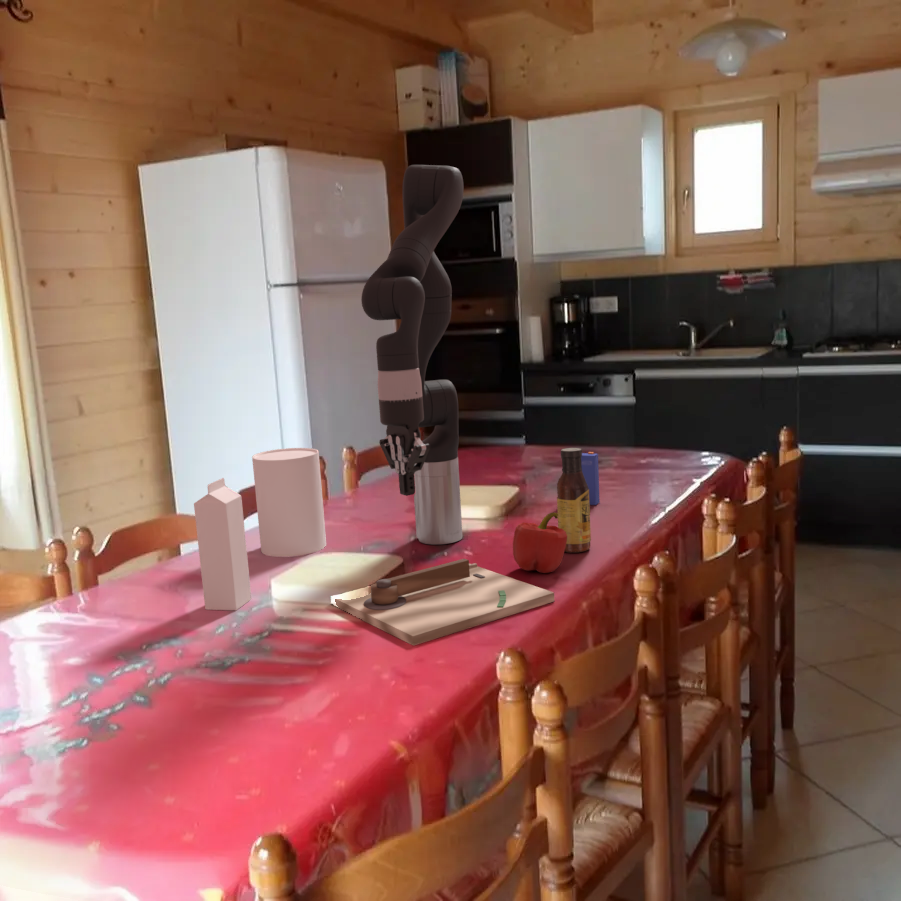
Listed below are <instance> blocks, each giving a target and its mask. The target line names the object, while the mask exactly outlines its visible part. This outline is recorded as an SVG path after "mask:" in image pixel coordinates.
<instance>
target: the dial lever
mask: <svg viewBox="0 0 901 901" xmlns="http://www.w3.org/2000/svg"><path fill="white" fill-rule="evenodd" d="M469 564H470V565H469ZM477 566H478V563H476V562H475V563H474V562H473V563H470V559H466V558H460V559H458V560H454V561H450V562H446V563H442V564H439V565H435V566H431V567H427V568H423V569H420V570H416V571H412V572H409V573H404V574H400V575H397V576H392V577H389V578H383V579H382V578H381V579H378V580H376V582H375V583H373V584H370V585H371V600H372V602H373V603H375V604H390V603H394V602H396V601H397V600H398V597H399V596H402V595H406V594H410V593H413V592H417V591H420V590H424V589H428V588H431V587H435V586H438V585H442V584H446V583H449V582H453V581H456V580H460V579H464V578H467V577H470V571H469V569H472V568H476V567H477Z"/></svg>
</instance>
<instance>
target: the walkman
mask: <svg viewBox="0 0 901 901" xmlns="http://www.w3.org/2000/svg"><path fill="white" fill-rule="evenodd" d="M581 466H582V472H583V475H584V478H585V480H586V483H587V485H588V488H589V503H590V506H597V505H598V504H599V503H600V502H601V501H600V500H601V499H600V474H599V473H600V472H599V471H600V470H599V453H595V452H594V451H588V452H586V453H585V452H582V457H581Z"/></svg>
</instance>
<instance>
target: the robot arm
mask: <svg viewBox="0 0 901 901" xmlns="http://www.w3.org/2000/svg"><path fill="white" fill-rule="evenodd" d="M463 199H464V179H463V175H462V172H461V171H460V169H459V168H457V167H454V166H450V165H437V164H436V165H435V164H433V165H432V164H430V165H429V164H411V165H408V166H407V168H406V169H405V171H404V175H403V180H402V208H403V209H402V212H403V225H404V226H403V227H404V229H403V230H402V231H401V232H400V233H399V234H398V235H397V236H396V238H395V239H394V242H393V243H392V246H391V249H390V251H389V253H388V256H387V258H386V260H385V261H383V263H381V264H380V266H379V267H377V269H375V271H374V272H373V273H372V274H371V275H370V277H368V279H367V281H366V282H365V284H364V287H363V289H362V293H361V306H362V309H363V312H364V313H365V314H366V316H367V317H369V318H370V319H372V320H374V321H393V320H400V324H399V327H398V329H397V331H395V332H391V333H388V334H384V335H381V336H379V337H378V338H377V339H376V340H377V341H376V343H375V344H376V349H375V350H376V360H377V394H378V396H377V397H378V406H379V407H378V408H379V419H380V423H381V425H383V426H386V430H385V434H386V436H385V437H384V438H383V439H379V446H380V448H381V450H382V452H383V455H384V456H385V459H386V461H387V462H388V465H389V467H390V469H391V470H395V473H396V474H398V484H399V485H398V486H399V494H400V495H401V496H407V497H408V496H413V502H414V515H415V518H414V519H415V530H416V531H415V532H416V534H415V535H416V538H417V539H418V541H419V542H420V543H422V544H425V545H447V544H452V543H456V542H458V541H461V540H462V539H463V522H462V504H461V500H462V499H461V487H460V485H461V484H460V471H459V470H460V469H459V454H458V452H459V450H458V449H459V442H460V441H459V440H460V437H459V400H458V394H457V390H456V387H455V385H454V384H453V382H452V381H450V380H449V379H435V380H433V379H432V380H426V372H427V367H428V365H429V364H428V363H429V360H430V359H431V356H432V354H433V352H434V351H435V348H436V347H437V346H438V344H439V342H440V341H441V340H442V337H443V336H444V334H445V331H446V330H447V328H448V326H449V324H450V321H451V317H452V298H453V297H452V293H453V290H452V284H451V280H450V278H449V275H448V273H447V272H446V269H445V268H444V266H443V264H442V263H441V261H440V260H439V258H438V256H437V255H436V253H435V249H436V247H437V245H439V244H438V243H439V242H440V240H441V239H442V238H443V236H444V235H445V233H446V232H447V231H448V229H449V227H450V226H451V224H452V223H453V221H454V220H455V218H456V216H457V215H458V213H459V210H460V209H461V206H462V203H463ZM427 427H434V428H433V431H432V432H431V433H430V434H429V435H428V436H427V437H426V438H425V439H423V440H421V438H422V436H421V435H422V434H421V431H420V428H427Z"/></svg>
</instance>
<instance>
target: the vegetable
mask: <svg viewBox="0 0 901 901" xmlns="http://www.w3.org/2000/svg"><path fill="white" fill-rule="evenodd" d="M552 518H554V519H557V520H558V512H554V511H553V512H549V513H548V514H546V516H544V517H543V519H542V521H540V524H537V523H534V522H521V523H518V524H517V526H516V527H515V529H514V534H513V540H512V555H513V559H514V561H515V563H516V565H518V567H519V568H521V569H522V570H524V571H537V572H539V573H540V574H542V573H543V574H549V573H552V572H555V570H557V569H558V568H559V567H560V565H561V563H562V561H563V559H564V554H565V552H564V551H565V547H566V543H567V534H566V532H565V531H564V530H563V529H562V528H558V526H557V525H548V523H549V522H550V521H551V519H552Z"/></svg>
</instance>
